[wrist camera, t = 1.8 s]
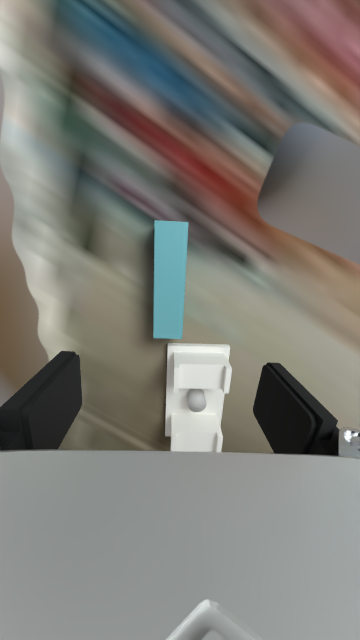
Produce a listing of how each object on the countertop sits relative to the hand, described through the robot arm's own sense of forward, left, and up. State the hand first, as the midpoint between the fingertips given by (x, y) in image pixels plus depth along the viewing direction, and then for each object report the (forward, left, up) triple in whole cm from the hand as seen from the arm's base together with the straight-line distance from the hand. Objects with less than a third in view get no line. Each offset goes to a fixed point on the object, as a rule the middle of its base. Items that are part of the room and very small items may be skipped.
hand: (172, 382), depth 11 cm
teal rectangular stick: (0, -3, -23) cm, 23 cm away
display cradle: (-5, +16, -22) cm, 28 cm away
